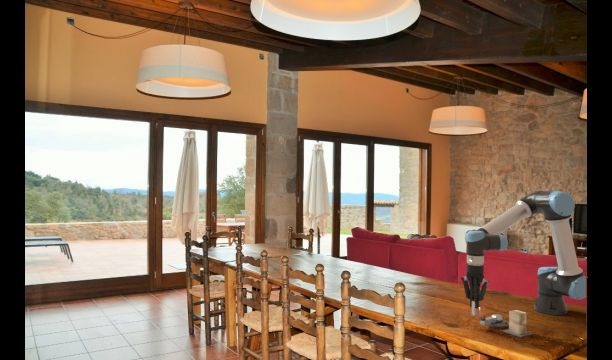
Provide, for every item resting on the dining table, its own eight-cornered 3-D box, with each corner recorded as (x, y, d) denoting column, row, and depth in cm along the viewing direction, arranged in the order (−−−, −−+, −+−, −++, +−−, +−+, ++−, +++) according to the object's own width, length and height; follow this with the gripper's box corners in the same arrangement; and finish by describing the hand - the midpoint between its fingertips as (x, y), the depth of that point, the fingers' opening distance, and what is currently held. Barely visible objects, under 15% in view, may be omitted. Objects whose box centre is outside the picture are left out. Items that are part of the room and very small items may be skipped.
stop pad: (515, 328, 205) (515, 327, 205) (533, 334, 197) (533, 333, 197) (502, 331, 201) (502, 330, 201) (519, 337, 193) (519, 336, 193)
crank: (495, 318, 212) (495, 301, 212) (505, 321, 208) (505, 303, 208) (475, 323, 205) (475, 306, 205) (484, 326, 200) (484, 308, 200)
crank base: (495, 321, 215) (495, 317, 215) (511, 326, 207) (511, 322, 207) (482, 324, 211) (482, 320, 211) (498, 329, 203) (498, 325, 203)
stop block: (516, 329, 203) (516, 309, 203) (526, 332, 198) (526, 312, 198) (509, 331, 200) (509, 311, 200) (518, 334, 196) (518, 314, 196)
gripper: (458, 263, 208) (457, 313, 208) (484, 267, 199) (483, 319, 199) (466, 261, 213) (465, 310, 213) (492, 265, 204) (491, 316, 204)
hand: (474, 314), depth 206 cm, fingers closed
